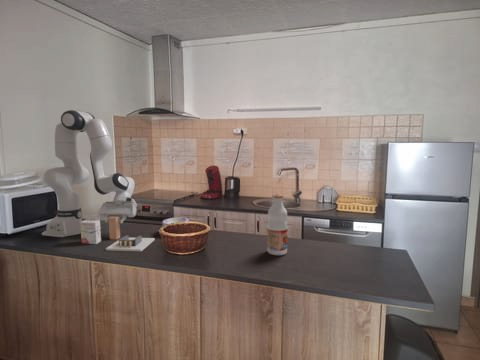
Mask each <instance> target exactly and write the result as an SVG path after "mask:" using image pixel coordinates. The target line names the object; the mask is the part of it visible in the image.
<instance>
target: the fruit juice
mask: <svg viewBox="0 0 480 360" xmlns="http://www.w3.org/2000/svg"><path fill="white" fill-rule="evenodd" d="M283 199H284V195H283V194H277V193H276V194H275V193H274V194H273V195H272V201H273V202H272V205H271V206H270V208H269V209H268V211H267V217H268V221H267V244H266V247H267V250H266V251H267V253H268V254H269V255H272V256H283V255H286V254H287V252H288V221H287V217H288V210H287V209H286V208H285V206H284V202H283Z"/></svg>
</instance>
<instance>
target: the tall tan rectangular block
mask: <svg viewBox="0 0 480 360" xmlns="http://www.w3.org/2000/svg"><path fill="white" fill-rule="evenodd" d="M108 219H109V223H108V230H109V240H116V241H118V240H119V239H121V227H120V226H121V225H120V223H119V220H120V217H119V216H112V217H109V218H108Z"/></svg>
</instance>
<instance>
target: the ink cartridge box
mask: <svg viewBox="0 0 480 360" xmlns="http://www.w3.org/2000/svg"><path fill="white" fill-rule="evenodd" d="M84 216H85V217H84V218H85V219H84V220H82V222H80V223H81V233H80V236H81V237H80V238H81V244H83V245H84V244H88V245H97V244H99V243H101V241H102V234H101V230H102V229H101V219H100V214H84Z"/></svg>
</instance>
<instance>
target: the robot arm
mask: <svg viewBox="0 0 480 360" xmlns="http://www.w3.org/2000/svg"><path fill="white" fill-rule="evenodd" d="M84 132H85V133H86V135H87V137H88V141H89V143H90V153H89V159H90V164H91V169H92V175H93V187H94V189H95V191H96V192H97V193H99V195H101V196H102V195H103V196H104V195H107V194H109V193H112V192H114V193H115V195H114V197H113V200H112V201H105V202H103V203H102V205H101V207H100V209H99V211H98V215H99V216H100V217H102V218H105V220H104V221H105V224H109V218H110V217H112V216H119V223H120V224H123V223H124V221H125V220H127V218H135V216H136V214H137V206H138V204H137V202H136V201H135V199H134V198H132V196H133V193H134V190H135V179H133V178H132V177H130V176H124V175H123V174H121V173H119V172H116V173H115V172H114V173H111V174H109V175H105V170H104V165H103V160H104V158H105V156H106V155H107V154H109V152H111V150H112V148H113V140H112V137H111V135H110V132H109V130H108V127H107V125H106V124H105V122H104V121H103V119H101V118H95V116H94V115H93V114H91V113H90V112H88V111H83V110H74V109H71V110H70V109H69V110H66V111H64V112H63V113H62V114H61V116H60V122H59V123H57V124H56V125H55V130H54V152H55V153H54V154H55V157H56V158H57V159H59V160H60V161H62V163H63V165H64V166H59V167H52V168H50V169H47V170H46V171H45V172H44V174H43V181H44V183H45V184H46V185H47V186H48V187H50V188H51V189H52V190H53V191H54V193H55V194H56V197H57V204H58V205H57V206H58V210H56V211H54V213H55V214H56V216H55V217H54V218H52V219H51V220H50V221H49V222H48V223H47V224H46V229H45V230H44V231H42V232H41V236H46V237H57V238H65V237H69V236H75V235H81V223H80V222H82V221H83V220H82V218H83V216H82V215H83V213H82V211H83V210H82V208H81V198H80V194H79V193H77V192H76V191H73V189H72V186H74V185H79V184H83V183H85V182H87V181H88V180H89V178H90V174H89V172H90V171H89V170H88V169H87V167H85V166H84V165H83V164H82V162H81V161H80V158H79V155H78V154H79V153H78V139H77V136H78V134H79V133H84Z"/></svg>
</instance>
